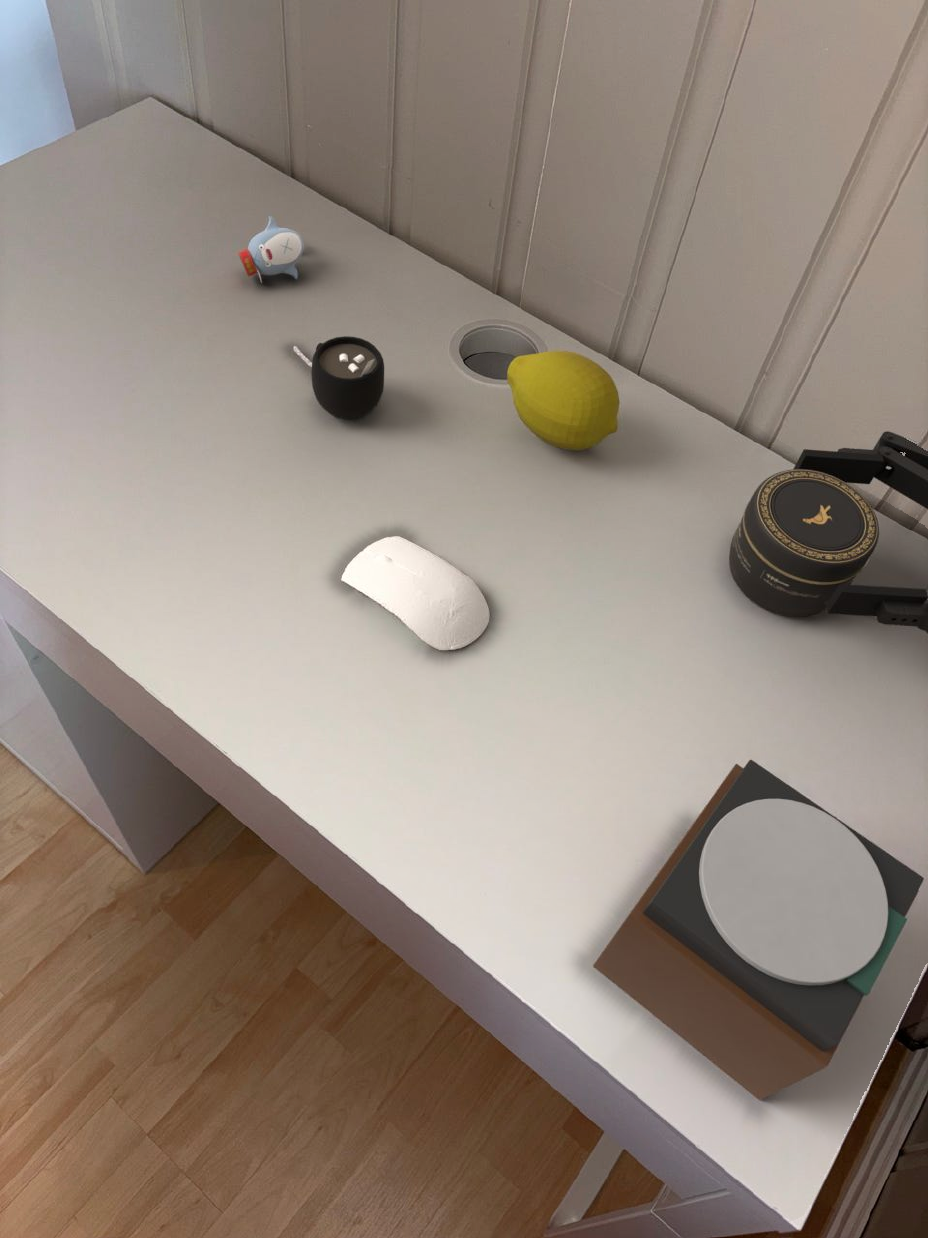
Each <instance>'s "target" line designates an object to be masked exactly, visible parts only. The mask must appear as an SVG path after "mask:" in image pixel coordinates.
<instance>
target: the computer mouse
mask: <svg viewBox="0 0 928 1238" xmlns="http://www.w3.org/2000/svg"><path fill="white" fill-rule="evenodd" d="M340 580H341V581H342V582H344V583H345V584H347V585H348V586H351V587H352V588H354V589H356V590H357V591H359V592H361V593H363V594H364V595H365V596H368V598H370V599H372V600H373V601H374V602H376V603H378V604H380V606H381V607H383V608H384V609H386V610H387V611H388V612H391V613H392V614H394V615H395V616H396V617H397V618H399V619H400V621H402V623H404V625H406V627H408V628H409V630H411V631H412V632H414V634H415V635H416V636H418V637H419V638H420V640H422V641H423V642H425V643H426V644H427V645H429V646H430V647H432V648H434V649H436V650H439V651H449V650H453V651H455V650H457V649H462V648H463V647H466V646H468V645H470V644H472V643H473V642H474V641H476V640H477V639H478V638H479V637H480V636H481V635H482V634H483V633H484V631H485V630H486V628H487V627H488V625H489V622H490V609H489V606H488V603H487V600H486V598H485V596H484V594H483V593H482V591H481V589H480V588H479V586H478V585H477V584H476V582H474V580H473V579H471V577H469V576H468V575H467V574H466V575H465V574H464V573H463V572H462V571H460V570H459V569H458V568H456V567H455V566H453V565H452V564H451V563H449V562H448V561H446V560H444V559H443V558H442V557H439V556H437V555H436V554H435V553H432V552H431V551H429V550H427V549H425V548H423V547H421V546H420V545H418V544H416V543H414V542H411V541H410V540H408V539H406V538H404V537H402V536H396V535H393V536H387V537H384V538H381V539H379V540H377V541H374V542H373V543H371V544H369V545H367V546H366V547H365V548H364V549H363V550H361V551H359V553H358V554H357V555H356V556H355V557H353V559H352V560H351V561H350V562H349V563H348V564H347V566H346V567H345V569H344V572H342V576H341V579H340Z"/></svg>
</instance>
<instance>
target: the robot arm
mask: <svg viewBox="0 0 928 1238" xmlns="http://www.w3.org/2000/svg"><path fill="white" fill-rule="evenodd" d="M904 437H905V436H902V435H900V434H897V433H896V432H892V431H888V430H887V431H886V430H885V431H883V432H882V434H881V435H880V437H879V438H878V440H877V442H876V444H875V446H874V447H873V449H867V448H853V447H852V448H850V447H842V448H838V449H837V451H835V450H822V449H821V450H820V449H808V448H807V449H806V448H804V449H803V450H802V452H801V454H800V456H799V457H798V459H797V461H796V463H795V465H794V467H793V469H807V470H814V471H819V472H822V473H826V474H829V475H831V476H834V477H836V478H838V479H840V480H842V481H844V482H845V483H847V484H857V485H858V484H860V485H871V483H872V481H873V479H876V480H877V481H879V482H881V483H883V484H884V485H886V486H888V487H889V488H891V489H892V490H894V491H896V492H898V493H899V494H901V495H903V496H904V497H906V498H907V499H909V500H911V501H913V502H914V503H916V504H918V505H919V506H921V507H923V508H925V509H927V510H928V451H926V450H924V449H923V448H921V447H919V446H917V444H915V443H913V442H911V441H909V440H907V439H906V438H907V437H905V438H904ZM900 452H903V453H904V452H905V453H906V454H905V456H903V455H902V453H900ZM887 467H889V468H887ZM927 600H928V592H927V589H926V588H912V587H911V588H910V587H896V586H882V585H881V586H880V585H864V584H863V585H862V584H850V585H849V584H840V585H839V586H838V588H837V589H836V591H835V592H834V594H833V595H832V597H831V598H830V599H829V601H828V602H827V604H826V605H825V606H826V609H825V610H826V613H827V614H828V615H842V616H843V615H844V616H861V617H876V621H877V623H878V624H879V623H880V624H882V625H886V626H899V627H900V626H901V627H917V628H918V629H919V630H920V631H923V632H926V634H928V602H927Z"/></svg>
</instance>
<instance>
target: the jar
mask: <svg viewBox="0 0 928 1238" xmlns="http://www.w3.org/2000/svg"><path fill="white" fill-rule="evenodd" d="M879 536H880V526H879V520H878V517H877V515H876V513H875V511H874V509H873V507H872V506H871V504H870V502H868V500H867V499H866V498H865V497H864V496H863V494H861V493H860V491H858V490H857V489H855V488H854V487H853V486H851V484H850V483H845V482H844V481H842V480H840V479H838V478H836V477H834V476H831V475H829V474H826V473H822V472H819V471H814V470H807V469H794V468H793V469H787V470H782V471H779V472H776V473H774V474H772V475H770V476H768V477H767V478H766V479H765V480H763V481H762V482H761V483H760V484H759V486H758V487H756V489H755V491H754V492H753V494H752V496H751V498H750V499H749V501H748V502H747V505H746V507H745V509H744V512H743V516H742V517H741V519H740V522H739V523H738V525H737V527H736V530H735V532H734V533H733V536H732V538H731V543H730V546H729V555H728V557H729V559H728V565H729V570H730V574H731V576H732V578H733V581H734V582H735V584H736V586H737V587H738V588H739V590H740V591H741V592H742V593H743V595H745V596H746V597H747V598H748V599H749V600H750V601H751V602H752V603H754V604H755V605H757V606H758V607H760V608H762V609H764V610H766V611H768V612H771V613H773V614H777V615H781V616H787V617H807V616H813V615H816V614H818V613H820V612H822V611H825V610H826V606H825V605H826V604H827V602H828V601H829V599H830V598H831V597H832V595H833V594H834V592H835V591H836V589H837V588H838V586H839V585H840V584H849V585H852V583H853V581H854V580H855V579H856V577H857V576H858V575H859V574H860V573H862V572H863V570H864V569H865V567H866V566H867V564H868V563H869V561H870V558H871V556H872V555H873V553H874V551H875V549H876V547H877V545H878V541H879Z"/></svg>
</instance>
